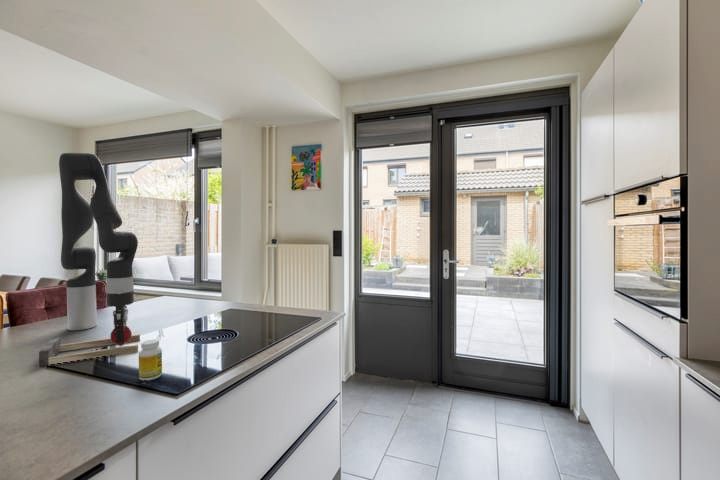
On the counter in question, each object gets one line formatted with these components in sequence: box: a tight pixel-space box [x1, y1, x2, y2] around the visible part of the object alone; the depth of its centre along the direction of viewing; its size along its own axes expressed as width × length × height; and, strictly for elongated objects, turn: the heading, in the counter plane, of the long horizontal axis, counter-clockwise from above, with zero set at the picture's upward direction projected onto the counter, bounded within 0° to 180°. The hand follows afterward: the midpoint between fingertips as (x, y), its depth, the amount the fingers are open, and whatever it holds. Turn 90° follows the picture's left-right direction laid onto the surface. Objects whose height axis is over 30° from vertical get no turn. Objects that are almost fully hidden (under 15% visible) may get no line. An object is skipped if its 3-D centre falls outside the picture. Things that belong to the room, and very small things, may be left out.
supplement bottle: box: [138, 339, 163, 381], centre depth 91 cm, size 5×5×10 cm
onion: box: [109, 324, 133, 347], centre depth 114 cm, size 6×6×8 cm
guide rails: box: [38, 333, 141, 368], centre depth 110 cm, size 14×24×4 cm, turn 121°
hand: (121, 339), depth 114 cm, fingers closed on onion, 6 cm apart
